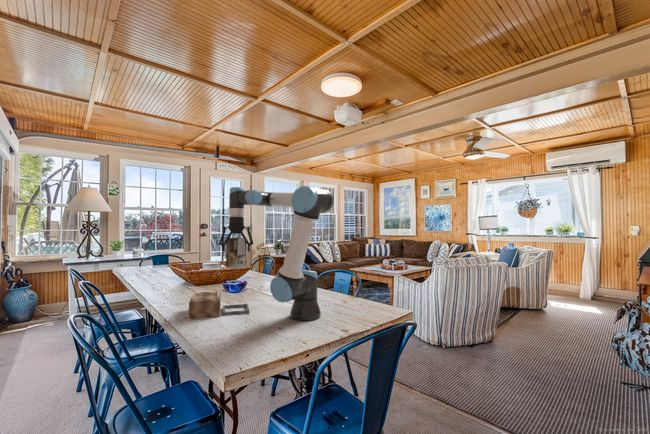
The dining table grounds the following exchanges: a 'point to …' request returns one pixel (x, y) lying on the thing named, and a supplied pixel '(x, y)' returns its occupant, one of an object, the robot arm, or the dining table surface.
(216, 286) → the dining table surface
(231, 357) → the dining table surface
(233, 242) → the coffee box
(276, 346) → the dining table surface
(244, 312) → the walnut caddy
